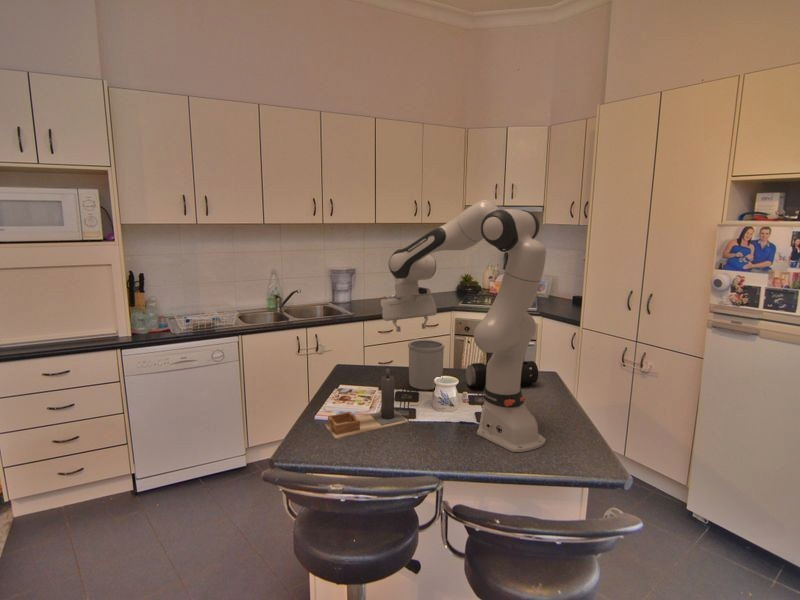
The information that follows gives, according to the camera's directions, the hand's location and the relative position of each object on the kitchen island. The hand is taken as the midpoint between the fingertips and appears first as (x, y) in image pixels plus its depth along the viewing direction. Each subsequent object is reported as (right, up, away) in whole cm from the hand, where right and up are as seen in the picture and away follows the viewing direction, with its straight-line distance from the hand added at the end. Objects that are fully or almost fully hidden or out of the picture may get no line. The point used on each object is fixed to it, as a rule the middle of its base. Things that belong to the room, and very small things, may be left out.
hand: (411, 330), depth 173 cm
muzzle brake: (+37, -25, +21) cm, 49 cm away
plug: (-8, -29, -12) cm, 32 cm away
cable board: (-15, -31, -16) cm, 38 cm away
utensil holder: (+6, -24, +23) cm, 34 cm away
